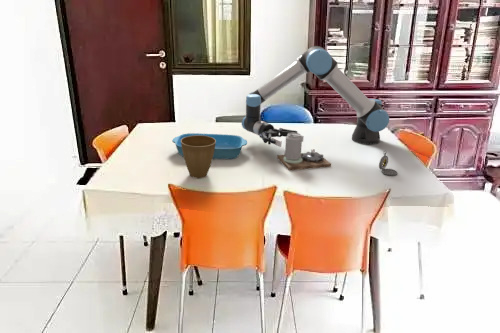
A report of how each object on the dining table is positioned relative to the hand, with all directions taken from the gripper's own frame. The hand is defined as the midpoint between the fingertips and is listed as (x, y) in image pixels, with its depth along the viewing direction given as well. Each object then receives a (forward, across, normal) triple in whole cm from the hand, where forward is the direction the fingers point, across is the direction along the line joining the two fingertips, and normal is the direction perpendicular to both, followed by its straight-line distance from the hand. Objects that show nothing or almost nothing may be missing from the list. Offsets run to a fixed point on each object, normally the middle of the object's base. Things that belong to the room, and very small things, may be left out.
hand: (292, 141), depth 202 cm
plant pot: (-11, +44, -11) cm, 46 cm away
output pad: (+1, 0, -9) cm, 9 cm away
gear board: (+3, -5, -11) cm, 12 cm away
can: (+1, 0, -8) cm, 8 cm away
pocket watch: (+33, -29, -11) cm, 46 cm away
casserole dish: (-32, +25, -11) cm, 42 cm away
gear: (+5, -10, -9) cm, 14 cm away
